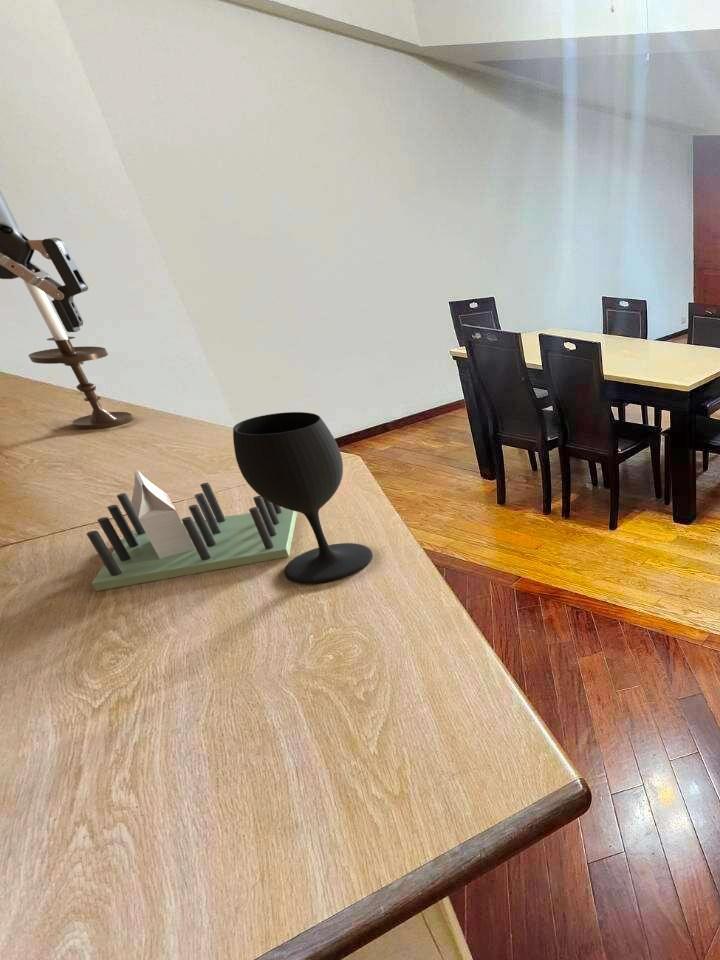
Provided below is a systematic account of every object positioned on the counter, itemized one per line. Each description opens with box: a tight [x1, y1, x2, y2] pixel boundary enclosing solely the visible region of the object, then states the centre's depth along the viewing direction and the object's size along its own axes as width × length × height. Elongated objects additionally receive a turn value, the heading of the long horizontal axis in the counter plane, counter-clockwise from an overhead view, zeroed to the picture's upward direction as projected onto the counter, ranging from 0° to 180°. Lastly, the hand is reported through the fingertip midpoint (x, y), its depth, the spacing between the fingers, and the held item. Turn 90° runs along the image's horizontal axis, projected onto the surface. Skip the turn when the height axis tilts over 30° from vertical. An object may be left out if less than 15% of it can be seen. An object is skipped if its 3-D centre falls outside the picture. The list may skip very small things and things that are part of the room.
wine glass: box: [232, 411, 374, 585], centre depth 76 cm, size 10×10×20 cm
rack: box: [86, 482, 298, 592], centre depth 81 cm, size 20×15×7 cm
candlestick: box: [22, 279, 134, 430], centre depth 116 cm, size 11×11×35 cm
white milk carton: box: [131, 470, 195, 558], centre depth 79 cm, size 4×7×10 cm, turn 47°
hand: (26, 332), depth 72 cm, fingers open, 8 cm apart
